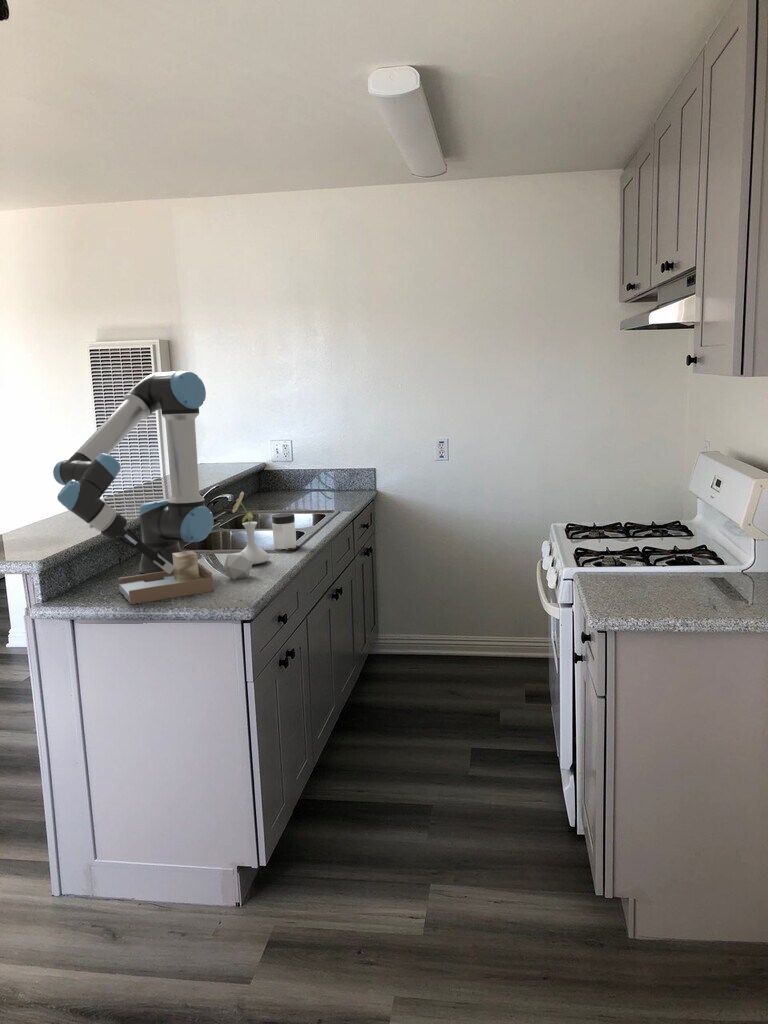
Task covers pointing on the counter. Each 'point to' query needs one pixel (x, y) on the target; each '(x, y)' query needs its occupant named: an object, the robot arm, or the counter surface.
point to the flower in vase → (251, 537)
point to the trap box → (163, 586)
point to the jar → (284, 530)
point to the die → (237, 565)
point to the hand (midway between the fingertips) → (171, 570)
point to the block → (185, 566)
